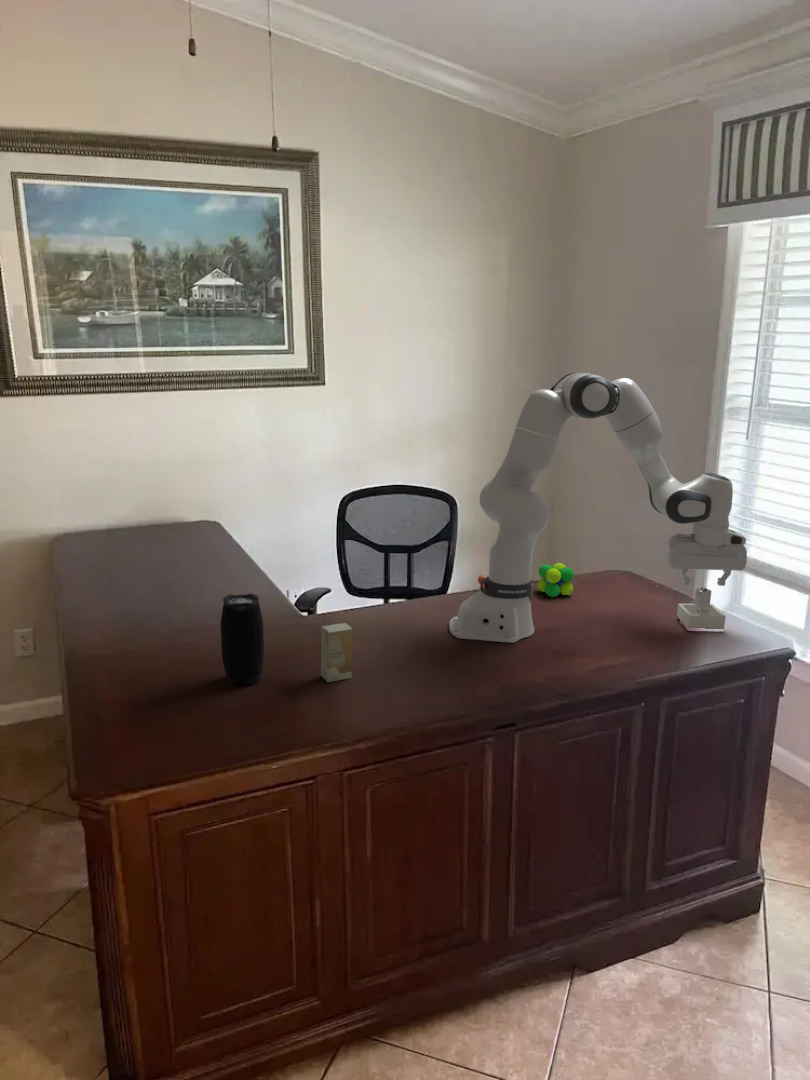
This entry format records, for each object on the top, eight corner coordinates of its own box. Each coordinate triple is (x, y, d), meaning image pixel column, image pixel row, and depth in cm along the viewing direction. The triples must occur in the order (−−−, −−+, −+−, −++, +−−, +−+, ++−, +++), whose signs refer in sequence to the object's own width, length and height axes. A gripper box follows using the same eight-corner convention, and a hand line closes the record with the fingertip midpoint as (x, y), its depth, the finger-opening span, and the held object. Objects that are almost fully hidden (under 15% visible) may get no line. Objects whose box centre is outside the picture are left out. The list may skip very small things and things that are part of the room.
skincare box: (327, 683, 195) (327, 632, 192) (320, 675, 199) (319, 626, 195) (353, 678, 198) (353, 628, 194) (345, 670, 201) (345, 621, 198)
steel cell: (694, 626, 232) (698, 591, 229) (690, 620, 236) (693, 586, 233) (709, 626, 232) (713, 591, 229) (704, 621, 236) (708, 586, 233)
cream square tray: (687, 631, 229) (689, 615, 228) (676, 618, 239) (678, 603, 237) (723, 632, 229) (725, 616, 228) (711, 619, 239) (712, 604, 237)
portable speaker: (216, 678, 196) (212, 597, 191) (252, 668, 202) (250, 589, 197) (234, 691, 190) (231, 607, 185) (271, 680, 196) (269, 599, 190)
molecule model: (549, 600, 252) (575, 597, 255) (550, 571, 250) (577, 568, 253) (534, 590, 260) (560, 588, 263) (536, 563, 258) (562, 560, 261)
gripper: (674, 536, 224) (668, 587, 227) (752, 539, 224) (745, 589, 228) (667, 530, 230) (661, 579, 234) (743, 532, 230) (736, 582, 234)
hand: (703, 584), depth 231 cm, fingers open, 8 cm apart
